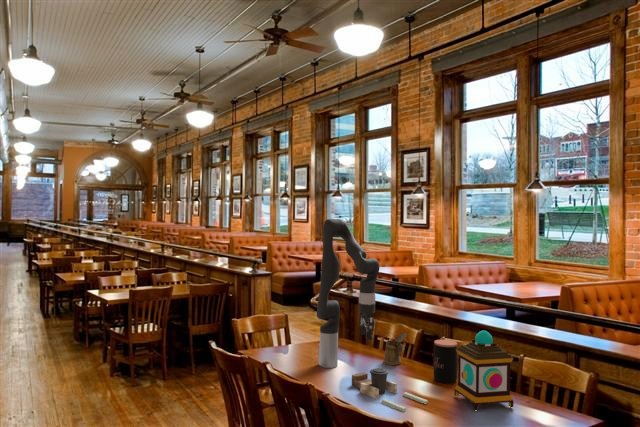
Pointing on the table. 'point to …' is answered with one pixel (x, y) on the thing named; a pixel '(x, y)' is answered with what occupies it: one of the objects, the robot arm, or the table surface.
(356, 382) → the pusher
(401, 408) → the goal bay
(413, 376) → the table surface
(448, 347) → the coffee jar
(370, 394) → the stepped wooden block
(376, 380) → the coffee cup
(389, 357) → the brown sack with scoop
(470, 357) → the decorative lantern
